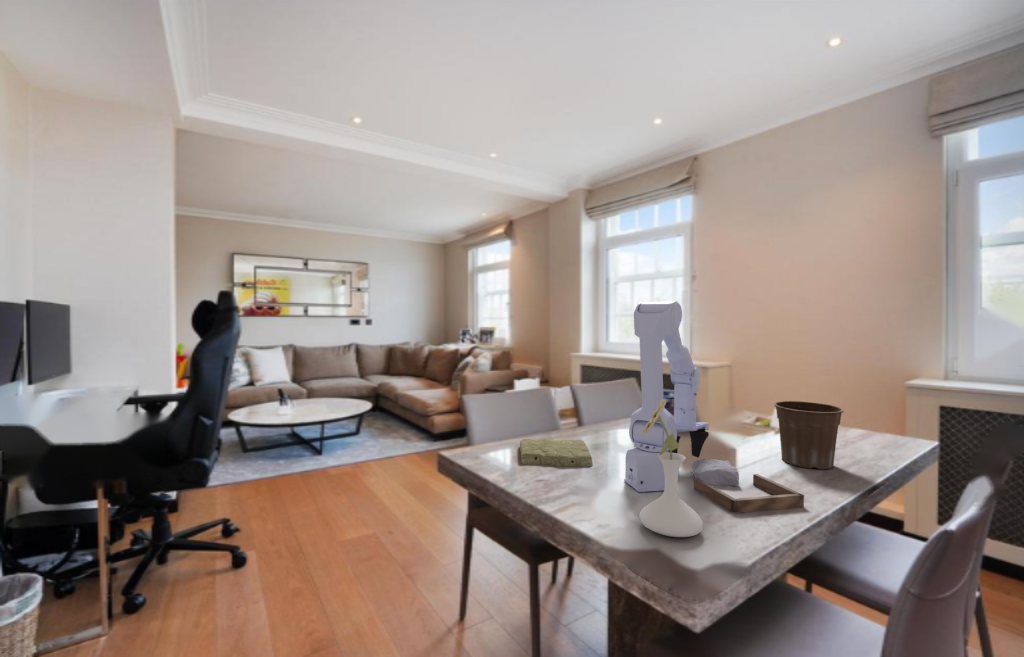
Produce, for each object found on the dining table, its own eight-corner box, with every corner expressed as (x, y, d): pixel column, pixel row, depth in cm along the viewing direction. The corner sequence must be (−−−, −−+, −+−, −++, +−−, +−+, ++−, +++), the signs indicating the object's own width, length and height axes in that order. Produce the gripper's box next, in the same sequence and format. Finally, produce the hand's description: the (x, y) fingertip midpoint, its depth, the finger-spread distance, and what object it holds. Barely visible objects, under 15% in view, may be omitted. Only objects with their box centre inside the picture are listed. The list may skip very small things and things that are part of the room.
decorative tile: (519, 448, 139) (519, 437, 139) (584, 449, 139) (584, 438, 139) (519, 467, 121) (519, 454, 121) (594, 468, 120) (594, 455, 120)
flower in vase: (657, 511, 92) (659, 390, 92) (713, 530, 84) (715, 397, 83) (622, 530, 83) (624, 396, 83) (681, 554, 75) (683, 405, 75)
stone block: (700, 492, 108) (744, 487, 106) (696, 472, 108) (739, 467, 106) (690, 477, 120) (729, 472, 118) (686, 459, 120) (725, 454, 118)
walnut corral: (733, 513, 91) (733, 500, 91) (693, 488, 105) (694, 478, 105) (803, 506, 95) (804, 495, 95) (756, 484, 108) (756, 474, 108)
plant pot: (831, 477, 114) (832, 414, 114) (763, 461, 126) (764, 404, 126) (850, 465, 124) (851, 407, 124) (786, 451, 137) (787, 399, 137)
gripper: (673, 412, 117) (672, 464, 117) (717, 409, 121) (716, 459, 122) (656, 407, 123) (655, 456, 123) (698, 405, 128) (697, 452, 128)
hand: (684, 457), depth 123 cm, fingers open, 7 cm apart
